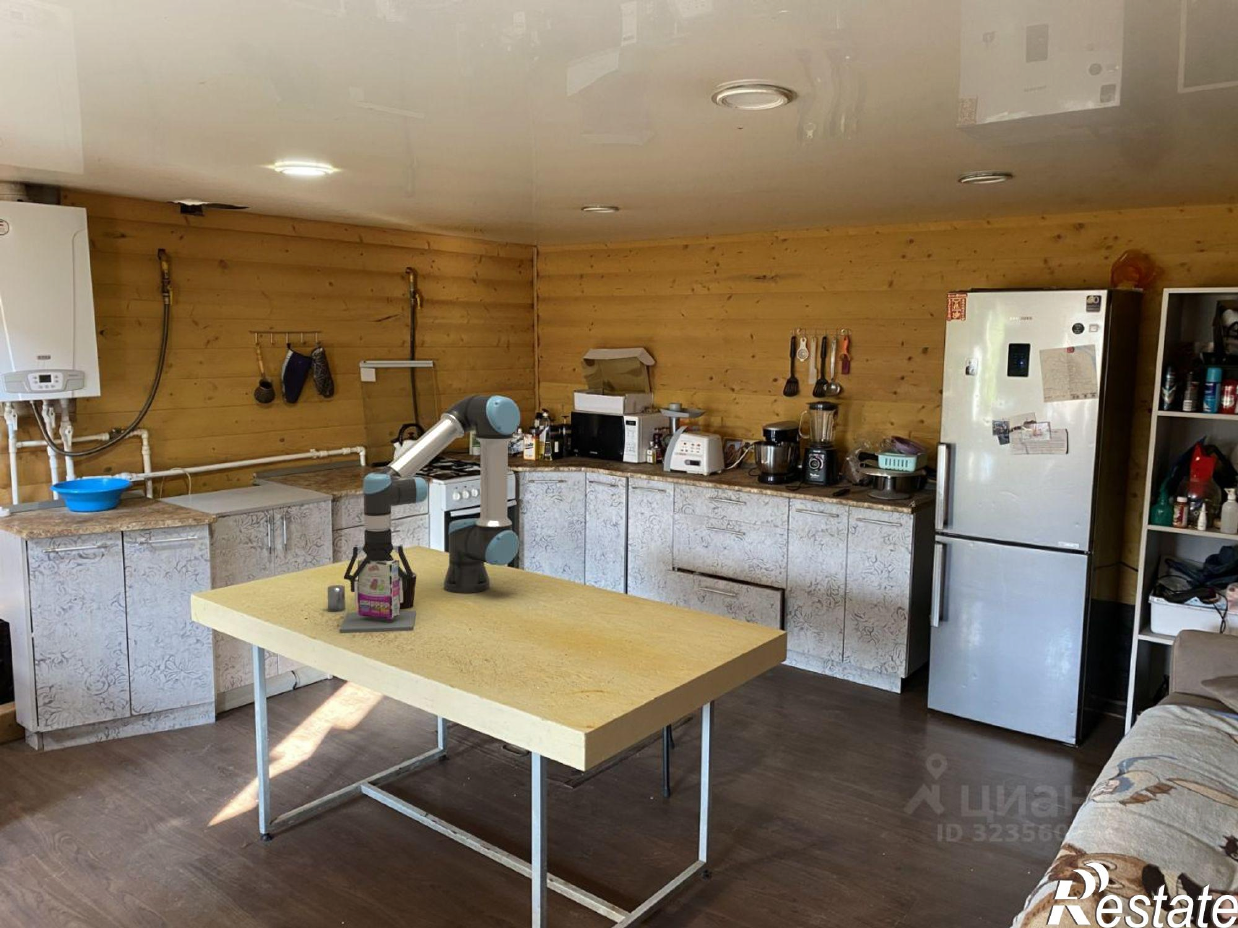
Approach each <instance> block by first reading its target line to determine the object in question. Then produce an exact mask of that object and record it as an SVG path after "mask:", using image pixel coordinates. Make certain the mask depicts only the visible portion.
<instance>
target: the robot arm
mask: <svg viewBox="0 0 1238 928" xmlns="http://www.w3.org/2000/svg"><path fill="white" fill-rule="evenodd" d="M520 423H521V412H520V409H519V407H518V405H517V403H516V402H514V400H513V399H512V398H509V397H507V396H501V395H486V394H472V395H468V396H466V397H464V398H462V399H460V400H459V401H458V402H456V403H454V404H453V405H452V406H450V407H449V408H448V409H447V410H445V411H444V413H442V414H441V415H440V420H439V421H438V422H436V424H434V425H433V426H432V427H431V428H429V429H428V430H427V431H426V432H425V433H424V434H422V435H421V436H420V437H419V438H418V439H417V440H416V441H414V442H413V443H411V445H410V446H409V447H407V448H406V449H404V451H403V452H402V453H400V454H399V455H398V456H397V457H396V458H395V459H394V460H392V461H391V462H390V463H389V464H388V465H386V466H385V467H384V468H383V469H382V470H380V471H379V472H378V471H377V472H370V473H368V474H367V475H366V476H365V477H364V478H363V482H362V483H363V484H362V485H363V487H362V493H363V527H364V530H363V532H364V533H363V535H364V544H363V546H362V545H361V546H360V545H356V544H355V545H354V546H353V549H352V556H351V558H350V561H349V563H348V566H347V568H346V571H345V573H344V575H343V579H344V580H348V581H349V582H350V592H351V593H354V605H358V575H359V574H360V572H361V571H362V570H363V568H364V567H365V566H366V564H367V563H368V562H369V560H372V561H377V560H379V561H384V560H387V561H393V560H395V559H394V558H393V556H392V555H391V554H392V552H393V551H395V553H396V554H398V556H399V560H400V562H401V563H402V566H403V568H404V570H405V571H406V572H407V574H405V573H404V570H403V569H402V568H401V566H400V565H399V568H398V575H399V576H400V577H401V578H400V580H399V588H400V603H402V602H403V591H406V589H407V579H408V578H412V576H413V572H414V571H412V568H411V566H410V564H409V562H408V559H407V557H406V555H405V553H404V546H403V544H399V545H393V542H392V534H393V533H392V507H395V506H403V505H404V506H405V505H411V504H412V505H413V504H415V505H416V504H417V503H418V504H419V503H422V502H424V501H425V500H427V497H428V494H429V490H428V489H429V487H428V484H427V482H426V480H425V479H424V478H423V477H419V476H418V477H414V476H415V474H416V473H418V472H419V471H420V470H422V468H424V467H425V466H426V465H427V464H428V463H430V462H431V461H432V460H433V459H434V458H435V457H436V456H437V455H438V454H440V453H441V452H442V451H444V449H445V448H446V447H448V445H450V444H451V443H452V442H454V440H455V439H457V438H458V439H460V438H463V437H464V436H465V435H466V434H468V433H470V432H474V431H475V439H476V440H477V441H478V442H479V443H480V506H479V507H480V510H479V511H480V516H479V517H478V518H477V517H476V518H475V517H474V518H465V519H457V520H453V521H451V522H450V523H449V526H448V533H447V534H448V558H449V559H448V561H449V562H448V563H449V564H448V569H447V570H446V574H445V577H444V580H443V589H444V590H445V591H447V592H452V593H460V594H465V593H466V594H468V593H470V594H471V593H479V592H483V591H486V590H489V588H490V586H491V585H490V582H491V581H490V577H489V574H488V572H487V567H486V566H485V564H489V565H491V566H506V565H508V564H509V563H511V562H512V561H513V559H514V558H516V555H517V553H518V552H519V550H520V549H519V548H520V539H519V536H518V535H517V534H516V533H515V532H514V531H513V522H512V520H510V518H508V483H509V481H508V477H509V475H508V470H509V469H508V468H509V466H508V465H509V463H508V461H509V457H508V456H509V454H508V452H509V449H508V448H509V444H510V442H511V441H512V440H513V437H514V435H513V434H514V432H517V429H518V427H519V426H520V425H521V424H520ZM361 552H363V553H364V554H365V555H366V556H365V557H364V558H365V559H364V558H363V559H364V561H363V562H362V563H361V565H360V566H359V567H358V566H357V568H356V569H355V571H354V572H353V574H352V575H351V573H352V570H353V567H354V565H355V563H356V561H357V558H358V555H360V554H361Z"/></svg>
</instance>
